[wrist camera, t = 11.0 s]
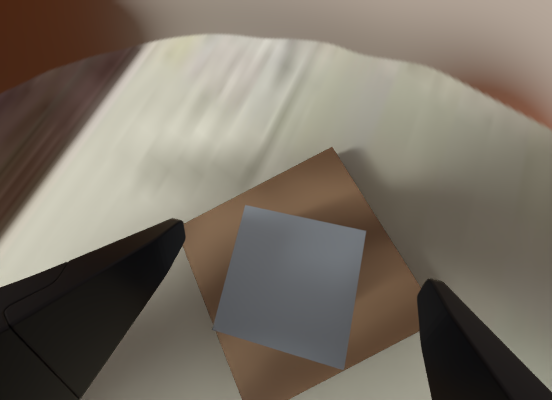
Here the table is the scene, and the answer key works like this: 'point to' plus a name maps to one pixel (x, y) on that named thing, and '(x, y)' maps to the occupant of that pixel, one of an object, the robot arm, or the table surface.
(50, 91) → the table surface
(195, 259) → the walnut block
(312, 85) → the table surface
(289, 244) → the blue-grey block
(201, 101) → the table surface
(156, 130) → the table surface
